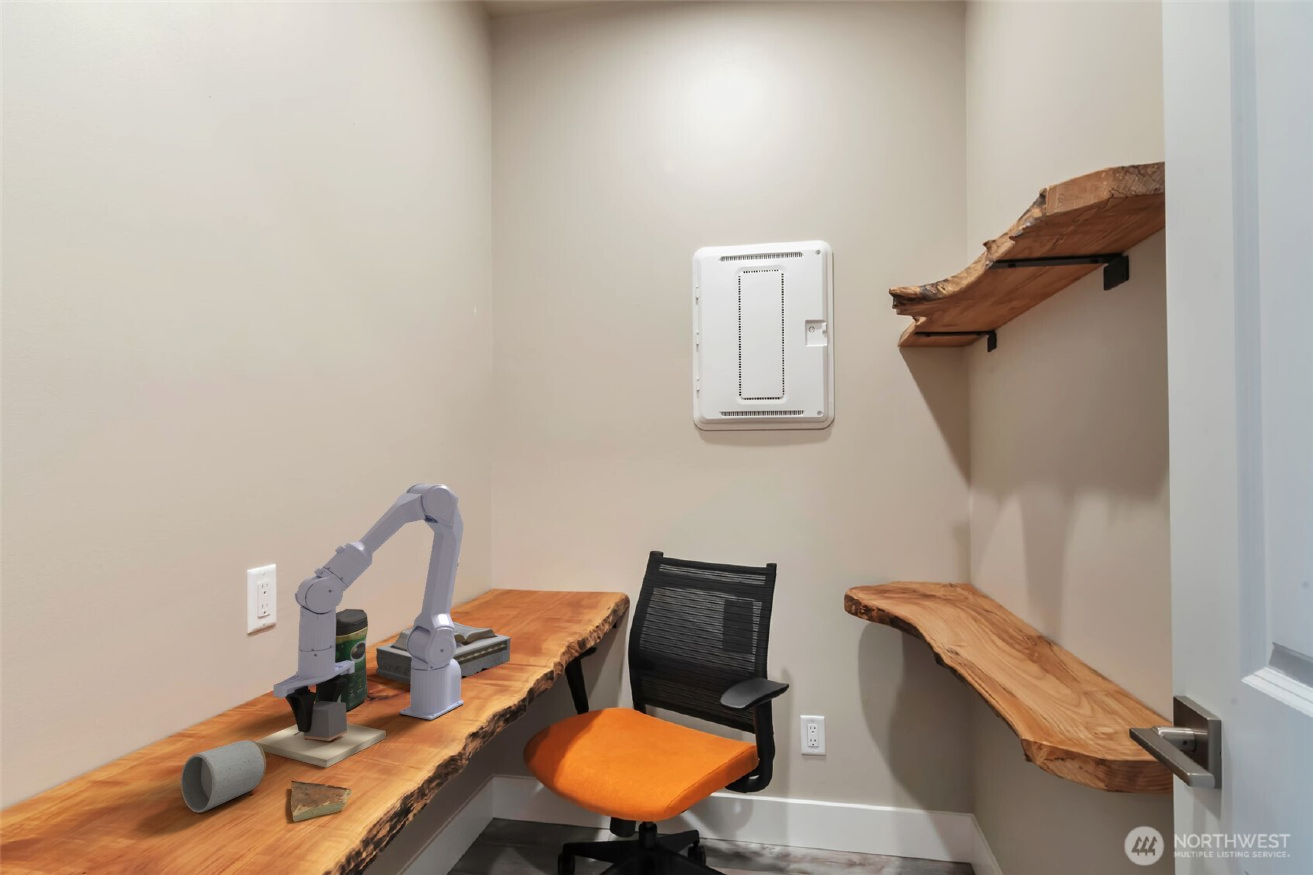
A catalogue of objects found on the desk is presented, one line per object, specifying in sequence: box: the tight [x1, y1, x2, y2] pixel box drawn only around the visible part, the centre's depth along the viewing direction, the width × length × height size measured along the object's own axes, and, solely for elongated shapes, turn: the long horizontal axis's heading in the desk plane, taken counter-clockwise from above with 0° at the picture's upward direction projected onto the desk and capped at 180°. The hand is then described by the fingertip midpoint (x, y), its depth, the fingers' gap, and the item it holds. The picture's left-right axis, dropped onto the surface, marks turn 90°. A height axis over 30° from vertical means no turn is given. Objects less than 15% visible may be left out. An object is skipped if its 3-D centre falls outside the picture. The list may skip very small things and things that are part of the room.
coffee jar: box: [314, 608, 369, 712], centre depth 128 cm, size 10×8×19 cm
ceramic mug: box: [180, 739, 267, 814], centre depth 93 cm, size 11×8×8 cm
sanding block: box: [304, 701, 348, 741], centre depth 110 cm, size 4×6×5 cm, turn 67°
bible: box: [375, 621, 512, 685], centre depth 152 cm, size 23×27×10 cm
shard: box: [290, 780, 352, 823], centre depth 92 cm, size 11×8×2 cm
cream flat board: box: [255, 722, 387, 768], centre depth 110 cm, size 12×17×1 cm
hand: (314, 726), depth 111 cm, fingers closed on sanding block, 4 cm apart
